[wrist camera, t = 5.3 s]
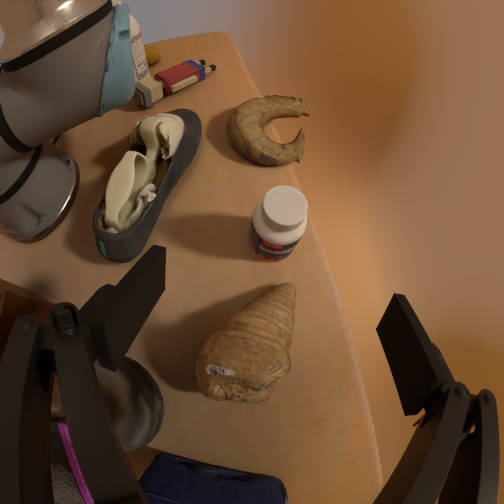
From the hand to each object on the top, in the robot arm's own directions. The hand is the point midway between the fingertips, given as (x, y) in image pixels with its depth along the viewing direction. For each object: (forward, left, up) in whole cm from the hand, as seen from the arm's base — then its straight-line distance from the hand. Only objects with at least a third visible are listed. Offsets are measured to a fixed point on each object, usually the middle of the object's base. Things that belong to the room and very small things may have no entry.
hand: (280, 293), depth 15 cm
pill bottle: (-9, 0, -15) cm, 18 cm away
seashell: (+3, 0, -15) cm, 15 cm away
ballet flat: (-13, -16, -15) cm, 26 cm away
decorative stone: (+12, -11, -15) cm, 23 cm away
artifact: (-18, -5, -14) cm, 24 cm away
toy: (-40, -18, -14) cm, 46 cm away
